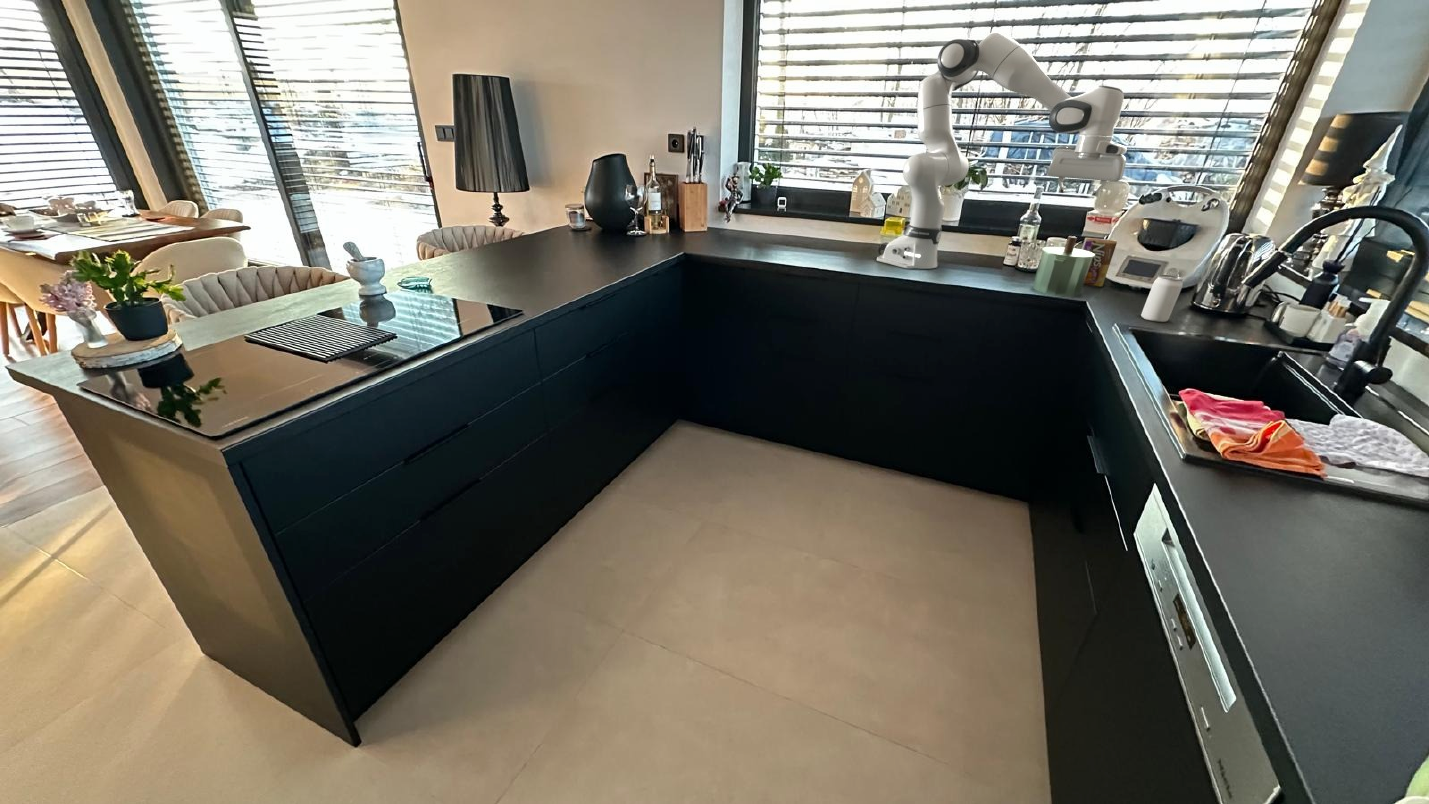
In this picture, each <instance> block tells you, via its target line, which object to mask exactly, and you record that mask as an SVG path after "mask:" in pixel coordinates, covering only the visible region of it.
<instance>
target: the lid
mask: <svg viewBox="0 0 1429 804" xmlns="http://www.w3.org/2000/svg"><path fill="white" fill-rule="evenodd" d="M1077 239H1078V237H1076V236H1072V235H1069V236H1067V239H1066V242H1065V246H1044V247H1042V248H1041V252H1042V253H1043V252H1044V253H1046V254H1049V255H1053V256H1058V257H1065V258H1074V259H1090V258H1094V256H1095V254H1094V253H1092V252H1089V251H1086V250H1082V248H1081V249H1080V248H1075V246H1076V242H1077Z"/></svg>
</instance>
